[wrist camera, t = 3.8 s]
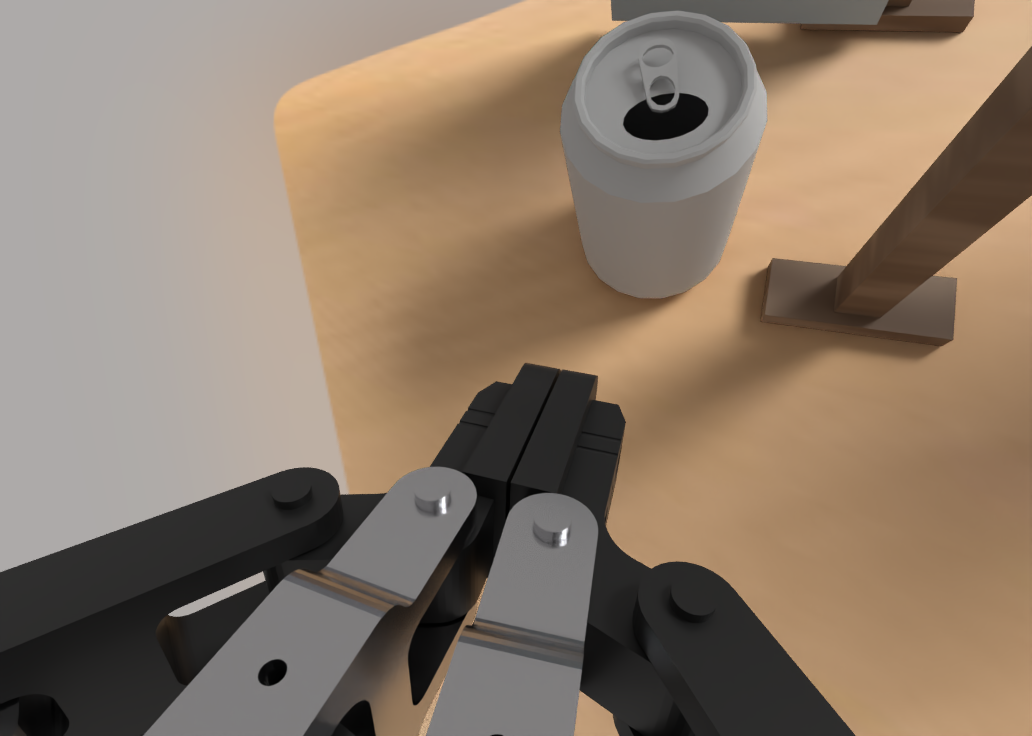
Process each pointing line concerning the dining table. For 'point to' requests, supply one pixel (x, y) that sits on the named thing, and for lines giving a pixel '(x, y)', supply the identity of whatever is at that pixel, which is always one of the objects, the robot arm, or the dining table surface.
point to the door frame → (919, 213)
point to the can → (661, 148)
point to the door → (760, 10)
